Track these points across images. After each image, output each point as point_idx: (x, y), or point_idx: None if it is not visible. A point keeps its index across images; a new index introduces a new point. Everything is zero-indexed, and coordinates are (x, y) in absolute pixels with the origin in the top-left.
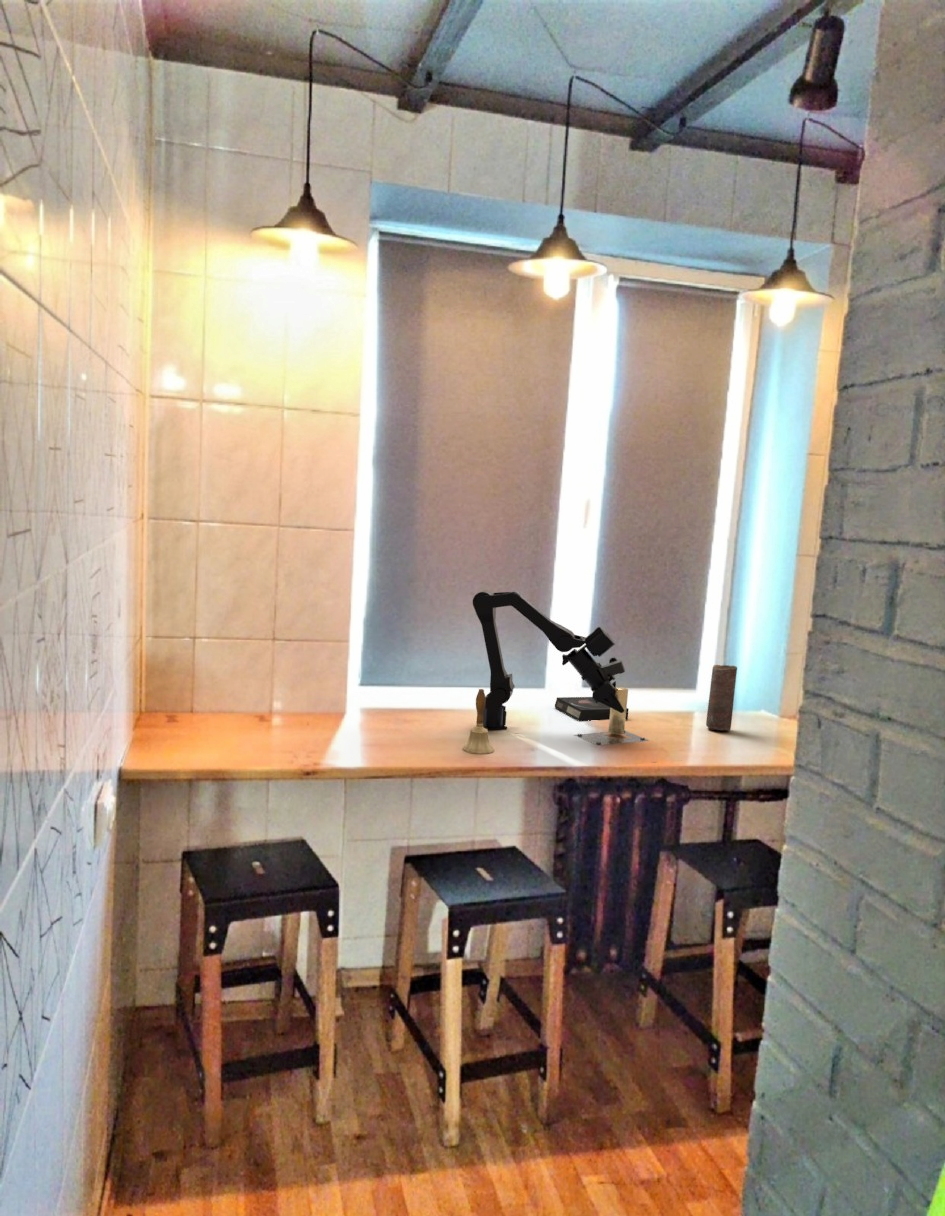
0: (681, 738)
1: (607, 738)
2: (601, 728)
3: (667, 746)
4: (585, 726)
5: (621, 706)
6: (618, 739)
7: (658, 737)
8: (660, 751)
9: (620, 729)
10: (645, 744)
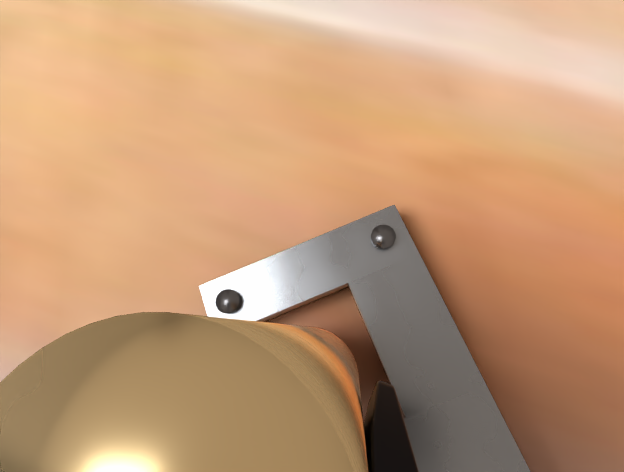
0: (249, 42)
1: None
2: None
3: (389, 130)
4: None
5: (412, 450)
6: (408, 392)
7: (237, 128)
8: (491, 187)
9: (357, 371)
10: None
